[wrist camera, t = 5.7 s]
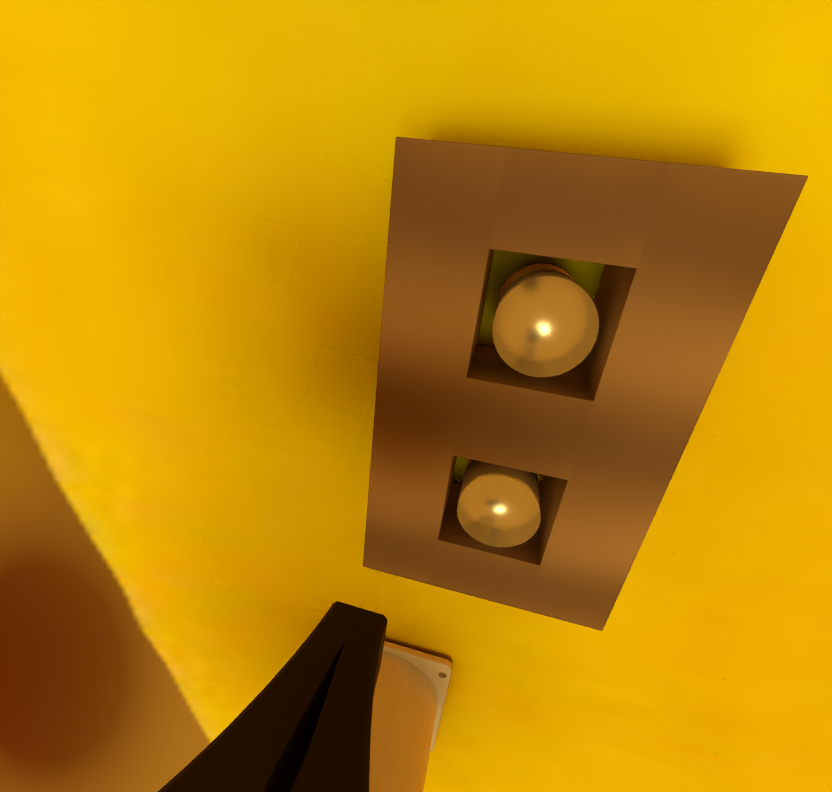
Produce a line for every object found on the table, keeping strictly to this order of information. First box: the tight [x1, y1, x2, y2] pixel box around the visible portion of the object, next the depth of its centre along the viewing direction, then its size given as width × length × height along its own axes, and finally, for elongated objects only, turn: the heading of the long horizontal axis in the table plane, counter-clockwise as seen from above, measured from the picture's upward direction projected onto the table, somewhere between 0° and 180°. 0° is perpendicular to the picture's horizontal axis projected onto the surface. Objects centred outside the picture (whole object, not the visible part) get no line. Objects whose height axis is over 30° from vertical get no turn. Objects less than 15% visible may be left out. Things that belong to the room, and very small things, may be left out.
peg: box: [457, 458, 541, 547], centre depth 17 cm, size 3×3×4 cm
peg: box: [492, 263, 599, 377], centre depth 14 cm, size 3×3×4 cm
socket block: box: [363, 137, 808, 631], centre depth 15 cm, size 16×10×4 cm, turn 173°
